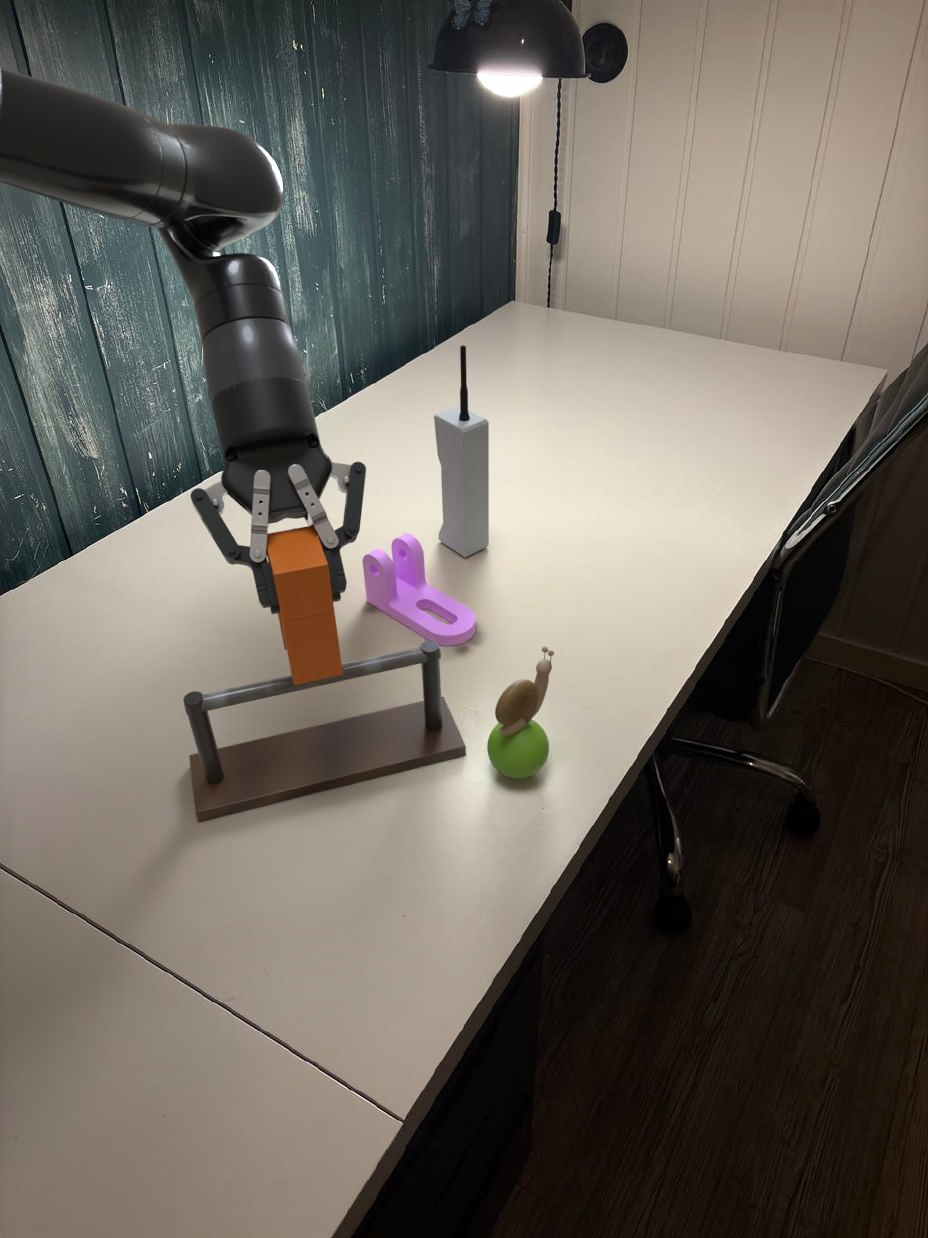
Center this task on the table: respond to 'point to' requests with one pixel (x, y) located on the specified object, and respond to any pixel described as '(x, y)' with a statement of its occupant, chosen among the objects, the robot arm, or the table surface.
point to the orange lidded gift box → (305, 604)
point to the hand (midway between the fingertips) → (306, 605)
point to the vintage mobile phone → (463, 473)
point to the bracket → (414, 594)
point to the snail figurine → (521, 726)
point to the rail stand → (320, 741)
